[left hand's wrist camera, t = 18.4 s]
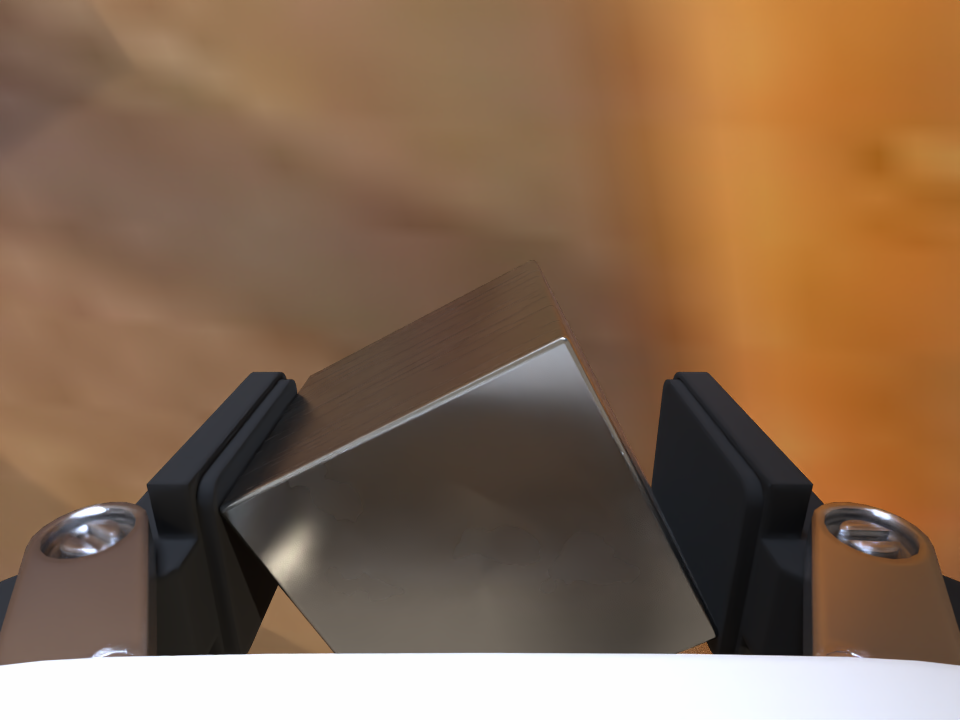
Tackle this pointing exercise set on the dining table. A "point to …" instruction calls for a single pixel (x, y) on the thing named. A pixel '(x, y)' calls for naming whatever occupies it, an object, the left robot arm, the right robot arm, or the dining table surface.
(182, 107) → the dining table surface
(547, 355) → the block
